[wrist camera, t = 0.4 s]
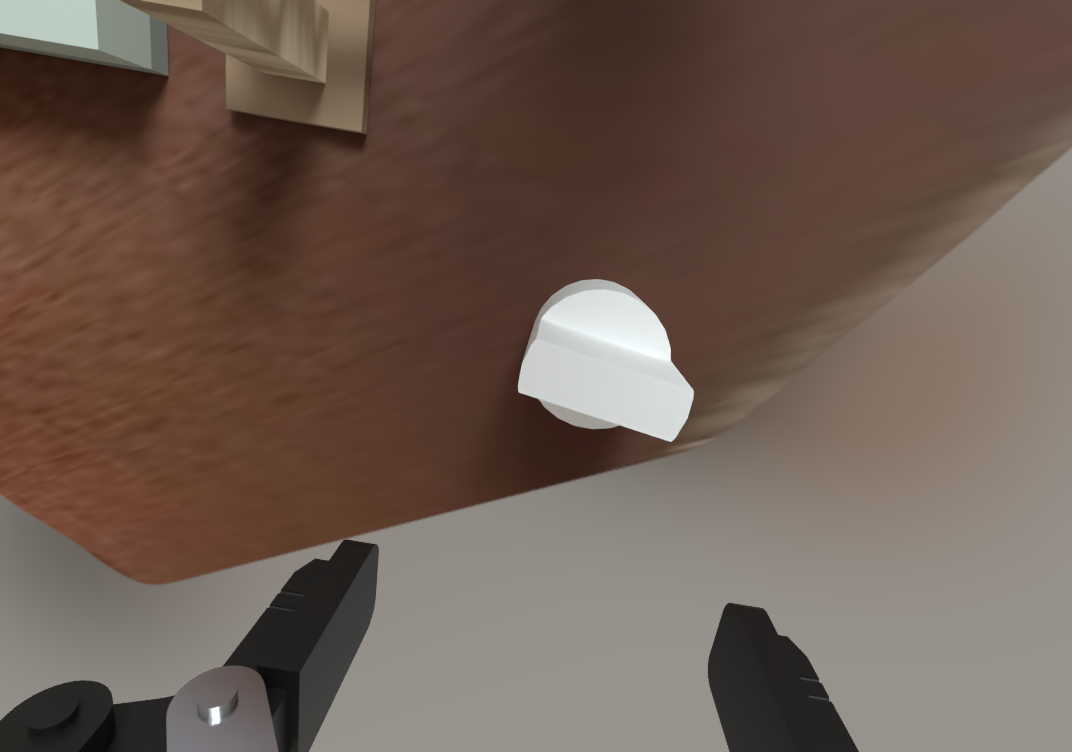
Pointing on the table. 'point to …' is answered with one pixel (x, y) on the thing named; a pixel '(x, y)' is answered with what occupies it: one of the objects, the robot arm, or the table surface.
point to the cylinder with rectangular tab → (604, 362)
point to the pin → (254, 31)
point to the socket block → (86, 32)
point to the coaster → (307, 100)
